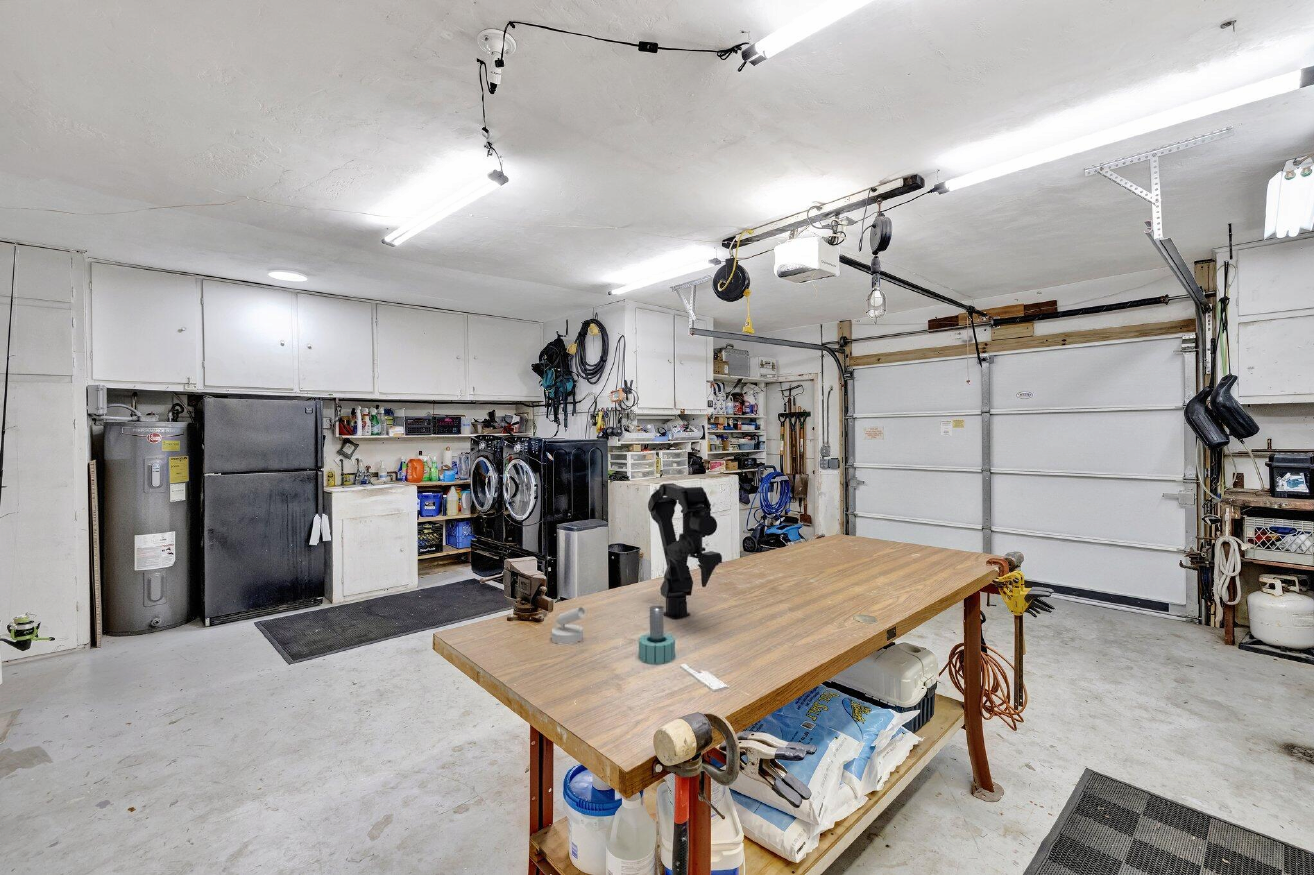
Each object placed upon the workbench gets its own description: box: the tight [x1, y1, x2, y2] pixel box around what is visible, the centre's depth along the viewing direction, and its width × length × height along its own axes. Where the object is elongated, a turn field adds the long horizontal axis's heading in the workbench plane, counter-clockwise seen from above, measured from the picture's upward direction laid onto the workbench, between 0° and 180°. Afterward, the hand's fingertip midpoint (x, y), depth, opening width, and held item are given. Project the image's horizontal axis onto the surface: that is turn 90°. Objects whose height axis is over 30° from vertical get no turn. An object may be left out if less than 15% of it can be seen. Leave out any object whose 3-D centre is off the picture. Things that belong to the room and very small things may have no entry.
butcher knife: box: [679, 663, 730, 693], centre depth 129 cm, size 5×15×1 cm, turn 27°
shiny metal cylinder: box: [649, 605, 665, 643], centre depth 140 cm, size 4×4×12 cm
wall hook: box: [551, 606, 586, 645], centre depth 153 cm, size 9×10×10 cm
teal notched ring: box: [638, 632, 676, 665], centre depth 140 cm, size 9×9×4 cm
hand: (692, 583), depth 161 cm, fingers open, 9 cm apart
